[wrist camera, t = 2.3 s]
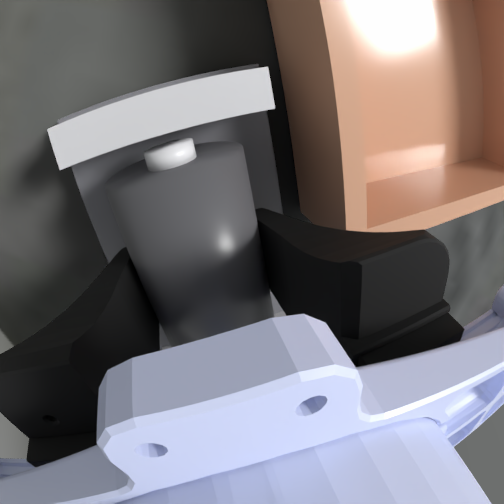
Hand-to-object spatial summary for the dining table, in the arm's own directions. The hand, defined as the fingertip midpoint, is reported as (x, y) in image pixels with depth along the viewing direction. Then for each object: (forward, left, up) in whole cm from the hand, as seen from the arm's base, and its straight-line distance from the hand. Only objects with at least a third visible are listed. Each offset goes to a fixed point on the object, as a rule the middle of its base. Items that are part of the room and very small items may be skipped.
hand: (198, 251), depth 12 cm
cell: (0, 0, +1) cm, 1 cm away
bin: (+6, -11, -2) cm, 13 cm away
